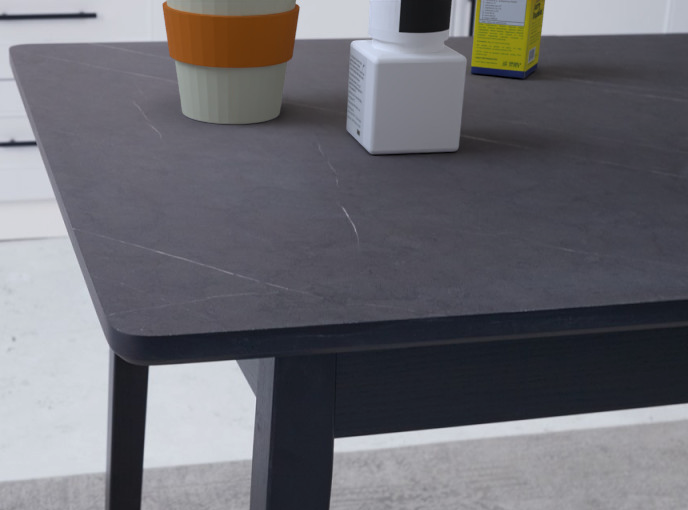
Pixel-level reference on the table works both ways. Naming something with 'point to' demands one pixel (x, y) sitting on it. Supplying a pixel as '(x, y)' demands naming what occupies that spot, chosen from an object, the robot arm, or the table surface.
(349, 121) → the container
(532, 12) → the supplement box
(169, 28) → the reusable coffee cup
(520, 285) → the table surface
